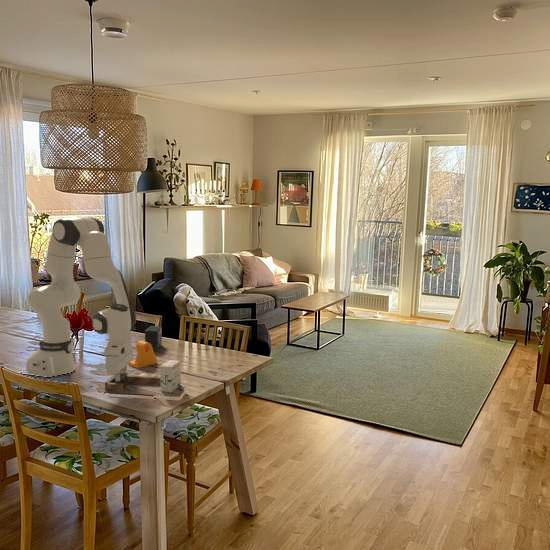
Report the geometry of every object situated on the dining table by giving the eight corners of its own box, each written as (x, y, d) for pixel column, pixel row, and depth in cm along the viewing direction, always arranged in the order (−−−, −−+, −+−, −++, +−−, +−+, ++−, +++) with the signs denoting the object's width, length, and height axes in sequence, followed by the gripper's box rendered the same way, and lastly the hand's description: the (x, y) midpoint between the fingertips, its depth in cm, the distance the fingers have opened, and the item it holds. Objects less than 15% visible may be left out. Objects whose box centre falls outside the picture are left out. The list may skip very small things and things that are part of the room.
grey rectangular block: (114, 385, 219) (114, 371, 218) (118, 382, 223) (117, 368, 222) (124, 386, 219) (123, 371, 218) (127, 382, 223) (127, 368, 222)
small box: (157, 351, 274) (157, 330, 272) (144, 350, 274) (144, 330, 272) (162, 345, 284) (162, 325, 283) (150, 345, 284) (149, 325, 283)
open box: (103, 393, 217) (103, 383, 216) (114, 383, 227) (114, 374, 227) (153, 396, 215) (152, 386, 214) (161, 386, 226) (161, 377, 225)
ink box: (170, 386, 226) (169, 359, 224) (181, 388, 224) (180, 360, 222) (160, 393, 217) (159, 365, 216) (171, 395, 216) (171, 366, 214)
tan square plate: (135, 381, 231) (135, 378, 230) (140, 375, 238) (140, 373, 237) (151, 382, 230) (151, 379, 230) (156, 376, 237) (156, 374, 237)
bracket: (147, 362, 257) (146, 337, 255) (156, 365, 252) (156, 340, 250) (127, 367, 248) (127, 341, 247) (137, 371, 244) (136, 345, 242)
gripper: (122, 337, 229) (122, 369, 231) (102, 352, 209) (103, 386, 211) (136, 338, 229) (137, 370, 231) (118, 352, 209) (119, 387, 211)
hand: (120, 378), depth 221 cm, fingers open, 4 cm apart
